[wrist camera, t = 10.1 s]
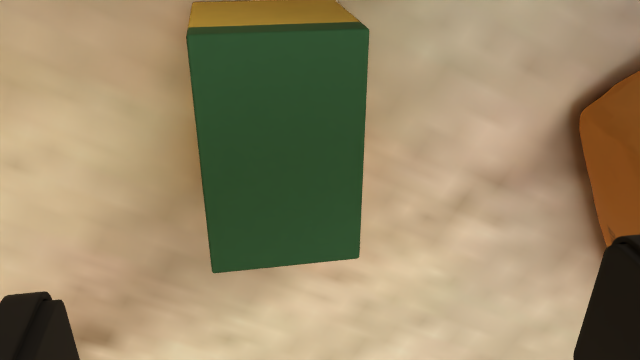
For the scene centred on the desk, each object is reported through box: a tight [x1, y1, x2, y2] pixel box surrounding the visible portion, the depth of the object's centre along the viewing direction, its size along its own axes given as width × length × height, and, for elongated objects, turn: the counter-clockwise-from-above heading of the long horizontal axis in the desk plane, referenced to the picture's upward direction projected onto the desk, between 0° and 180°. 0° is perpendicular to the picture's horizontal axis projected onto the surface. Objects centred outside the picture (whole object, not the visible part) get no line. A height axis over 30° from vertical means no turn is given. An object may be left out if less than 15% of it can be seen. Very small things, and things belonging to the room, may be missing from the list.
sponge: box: [186, 0, 369, 273], centre depth 18 cm, size 5×8×5 cm, turn 0°
